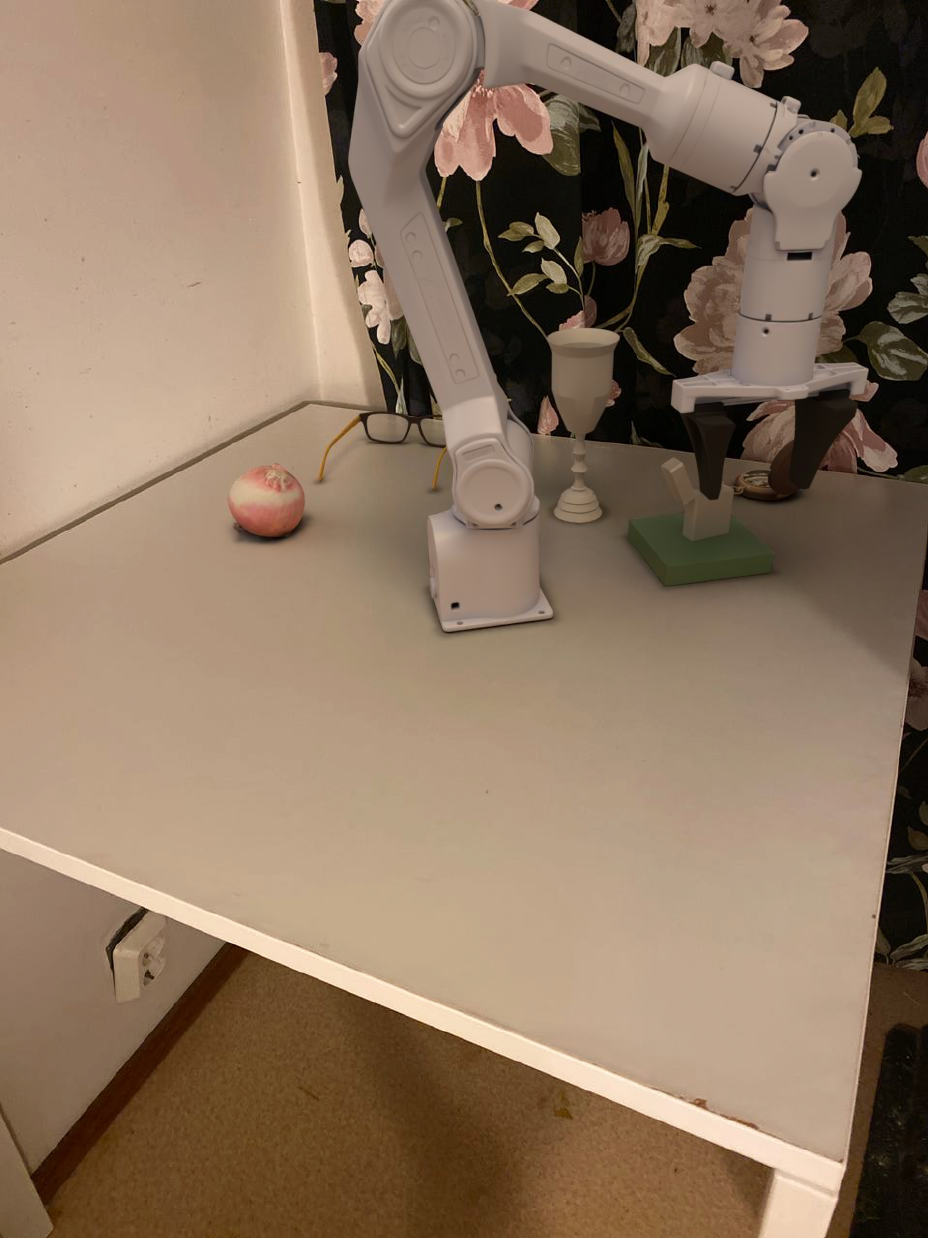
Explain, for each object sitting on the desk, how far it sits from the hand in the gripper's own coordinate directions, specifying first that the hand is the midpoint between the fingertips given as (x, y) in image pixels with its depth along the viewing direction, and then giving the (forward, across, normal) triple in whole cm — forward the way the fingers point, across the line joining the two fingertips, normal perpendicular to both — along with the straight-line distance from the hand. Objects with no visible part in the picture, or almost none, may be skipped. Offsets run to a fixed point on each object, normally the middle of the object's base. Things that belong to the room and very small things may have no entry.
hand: (754, 489), depth 69 cm
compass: (+11, +12, +20) cm, 26 cm away
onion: (+11, -40, +25) cm, 48 cm away
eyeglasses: (+11, -25, +40) cm, 48 cm away
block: (+10, 0, +9) cm, 14 cm away
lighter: (+9, -1, +9) cm, 12 cm away
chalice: (+11, -8, +21) cm, 25 cm away
